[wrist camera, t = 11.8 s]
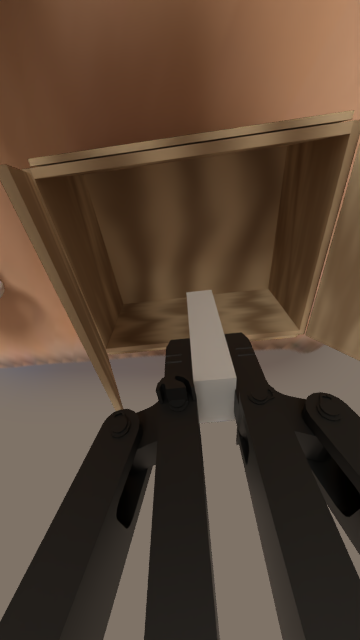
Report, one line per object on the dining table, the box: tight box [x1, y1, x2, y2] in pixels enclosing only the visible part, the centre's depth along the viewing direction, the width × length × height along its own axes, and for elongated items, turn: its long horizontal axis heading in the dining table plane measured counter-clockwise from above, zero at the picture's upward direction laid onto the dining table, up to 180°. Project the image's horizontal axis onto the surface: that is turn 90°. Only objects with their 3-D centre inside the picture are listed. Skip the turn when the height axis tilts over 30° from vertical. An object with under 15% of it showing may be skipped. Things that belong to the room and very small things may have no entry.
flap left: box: [0, 164, 123, 411], centre depth 16 cm, size 1×16×9 cm, turn 7°
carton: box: [21, 110, 360, 355], centre depth 23 cm, size 22×18×10 cm
